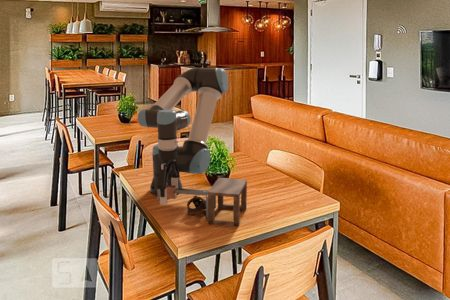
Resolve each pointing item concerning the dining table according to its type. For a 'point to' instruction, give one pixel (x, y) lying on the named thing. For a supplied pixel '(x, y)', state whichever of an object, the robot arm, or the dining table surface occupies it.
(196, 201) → the pottery mug
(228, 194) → the walnut stool
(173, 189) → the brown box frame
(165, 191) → the robot arm
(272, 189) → the dining table surface
